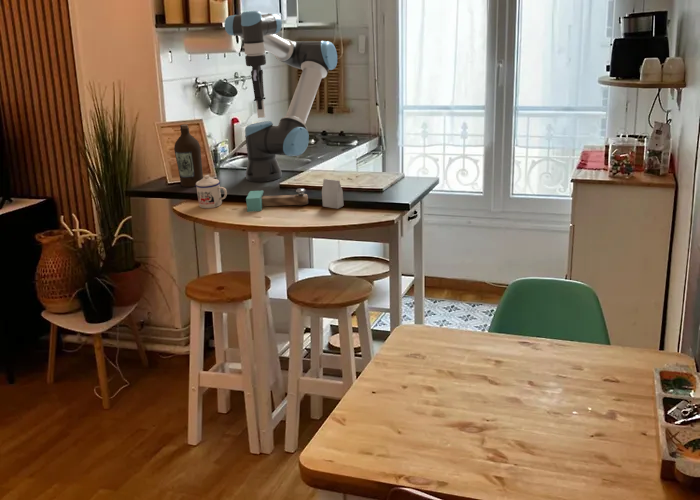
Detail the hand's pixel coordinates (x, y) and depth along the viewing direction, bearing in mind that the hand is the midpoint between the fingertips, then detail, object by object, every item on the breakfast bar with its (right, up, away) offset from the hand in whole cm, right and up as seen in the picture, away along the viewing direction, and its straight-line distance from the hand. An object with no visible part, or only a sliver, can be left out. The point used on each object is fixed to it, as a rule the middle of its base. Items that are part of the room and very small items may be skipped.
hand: (261, 117), depth 288 cm
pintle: (+16, -31, -10) cm, 36 cm away
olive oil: (-32, -23, +27) cm, 48 cm away
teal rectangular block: (-1, -35, -10) cm, 37 cm away
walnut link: (+8, -34, -8) cm, 36 cm away
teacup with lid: (-18, -34, -3) cm, 39 cm away
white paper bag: (+28, -35, -13) cm, 47 cm away
